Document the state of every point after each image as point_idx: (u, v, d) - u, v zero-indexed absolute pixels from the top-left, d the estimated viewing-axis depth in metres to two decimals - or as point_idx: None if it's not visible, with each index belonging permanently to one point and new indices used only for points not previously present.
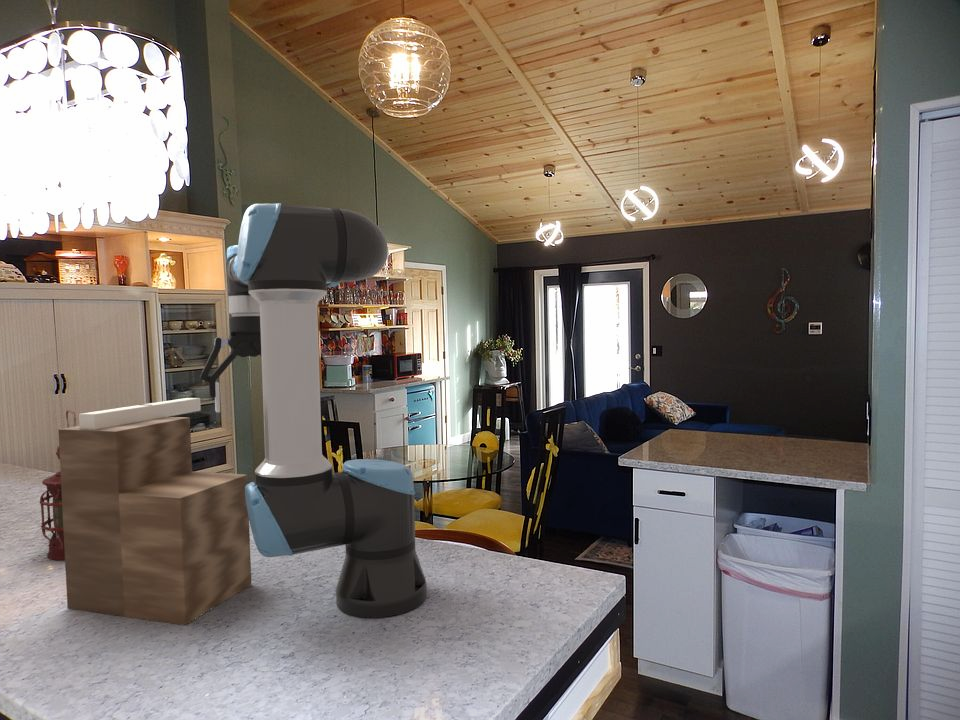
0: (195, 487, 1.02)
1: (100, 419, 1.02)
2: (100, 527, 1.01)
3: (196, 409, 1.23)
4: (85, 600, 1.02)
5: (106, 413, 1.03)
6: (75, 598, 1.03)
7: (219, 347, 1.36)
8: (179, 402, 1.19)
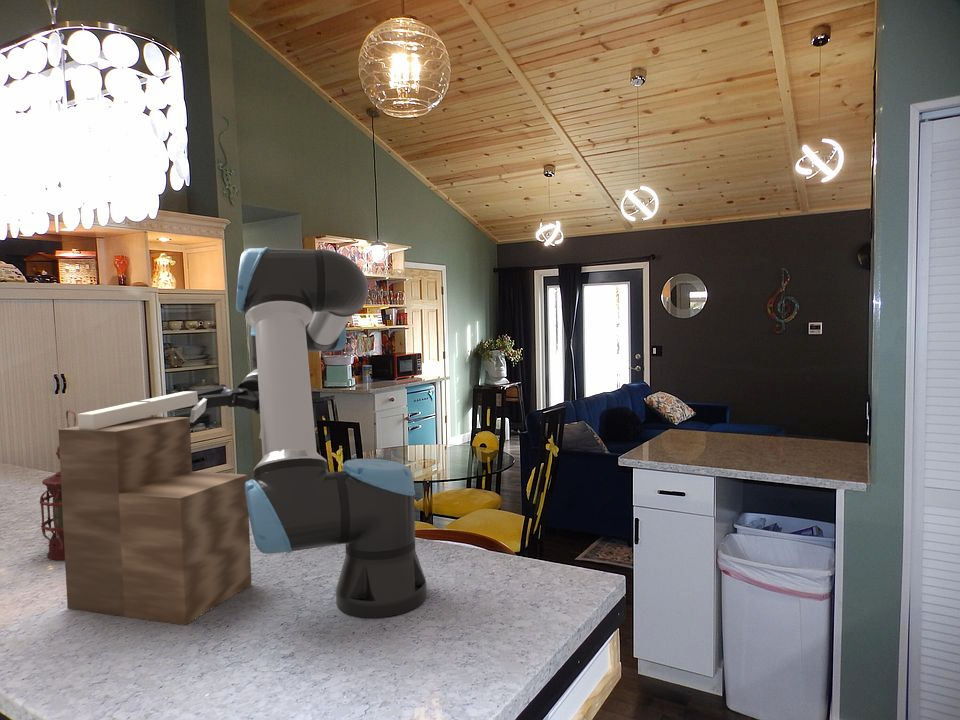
0: (195, 487, 1.02)
1: (99, 419, 1.02)
2: (100, 527, 1.01)
3: (193, 403, 1.23)
4: (85, 600, 1.02)
5: (105, 412, 1.03)
6: (75, 598, 1.03)
7: (221, 387, 1.35)
8: (176, 397, 1.19)
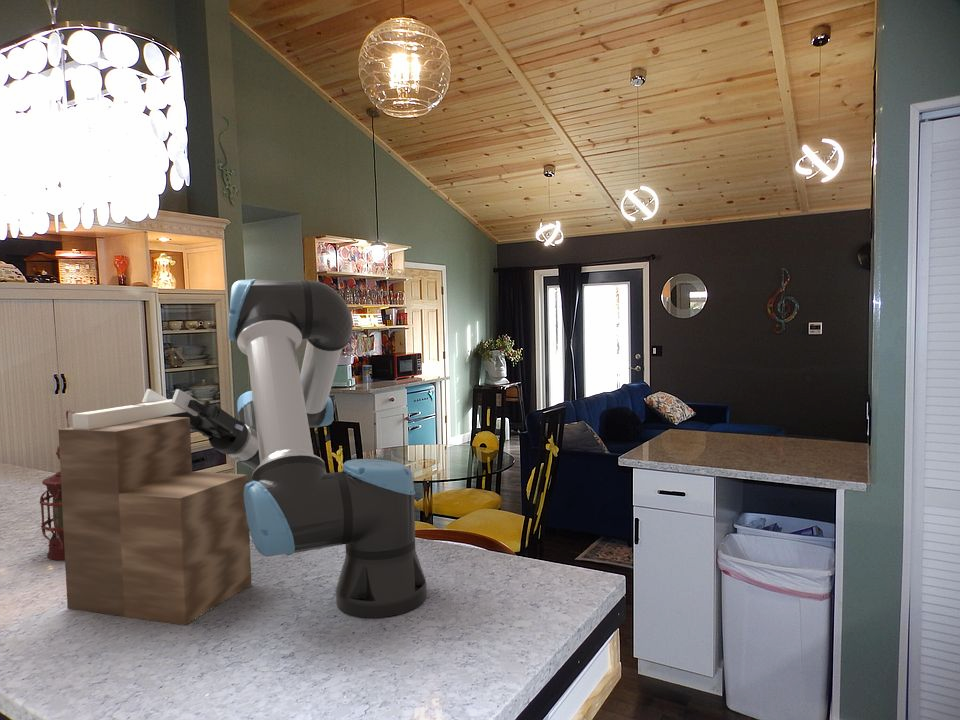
0: (195, 487, 1.02)
1: (93, 419, 1.02)
2: (100, 527, 1.01)
3: None
4: (85, 600, 1.02)
5: (99, 413, 1.03)
6: (75, 598, 1.03)
7: None
8: None
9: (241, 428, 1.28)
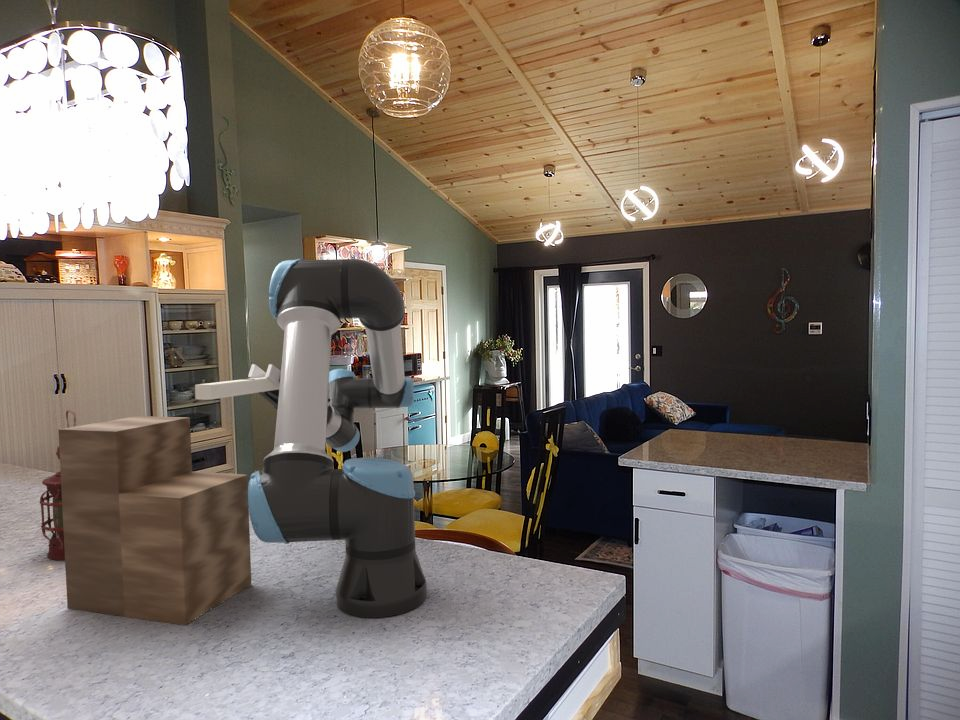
0: (195, 487, 1.02)
1: (215, 390, 1.07)
2: (100, 527, 1.01)
3: None
4: (85, 600, 1.02)
5: (220, 384, 1.08)
6: (75, 598, 1.03)
7: None
8: None
9: (328, 404, 1.33)
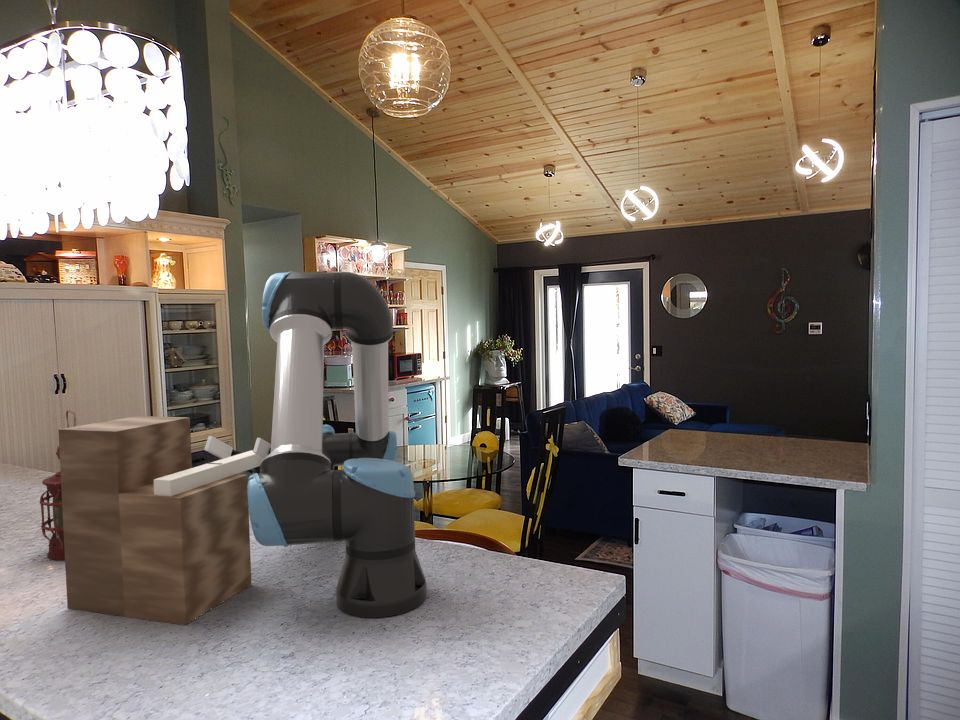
0: None
1: (175, 485, 0.98)
2: (100, 527, 1.01)
3: None
4: (85, 600, 1.02)
5: (181, 478, 0.99)
6: (75, 598, 1.03)
7: None
8: (246, 458, 1.15)
9: None
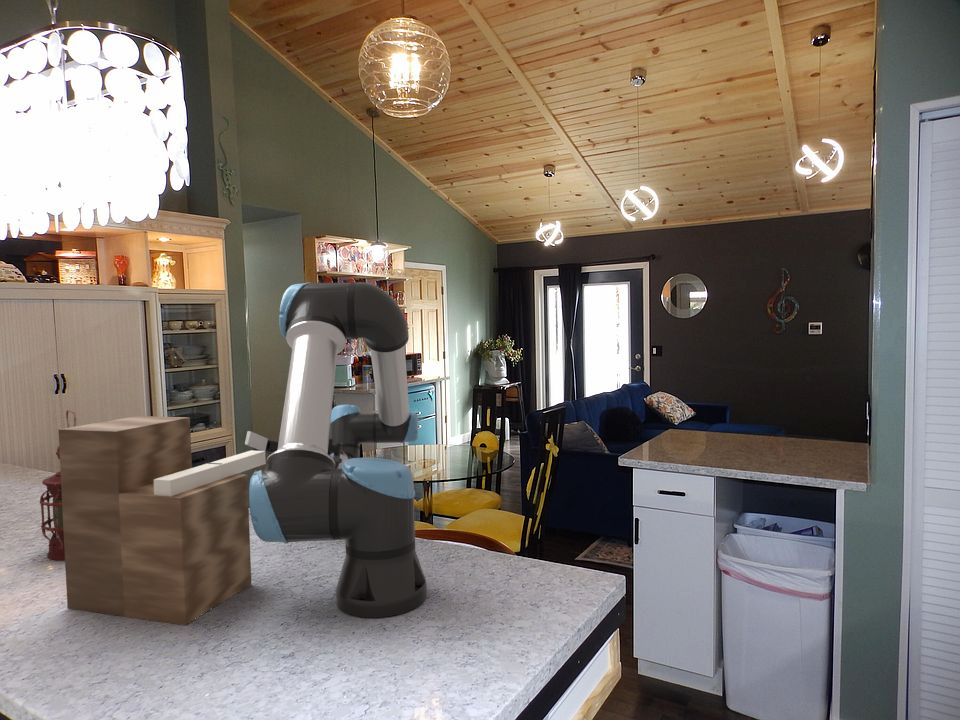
0: None
1: (175, 485, 0.98)
2: (100, 527, 1.01)
3: (261, 463, 1.19)
4: (85, 600, 1.02)
5: (181, 478, 0.99)
6: (75, 598, 1.03)
7: None
8: (246, 458, 1.15)
9: (342, 457, 1.38)
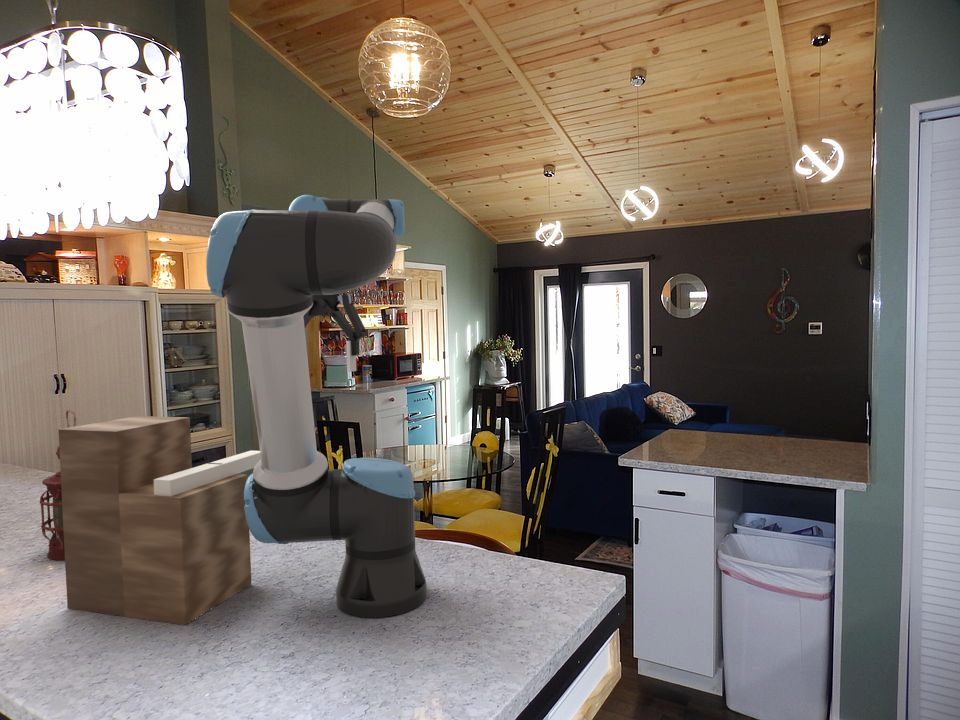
0: None
1: (175, 485, 0.98)
2: (100, 527, 1.01)
3: None
4: (85, 600, 1.02)
5: (181, 478, 0.99)
6: (75, 598, 1.03)
7: None
8: (246, 458, 1.15)
9: (349, 296, 1.32)
